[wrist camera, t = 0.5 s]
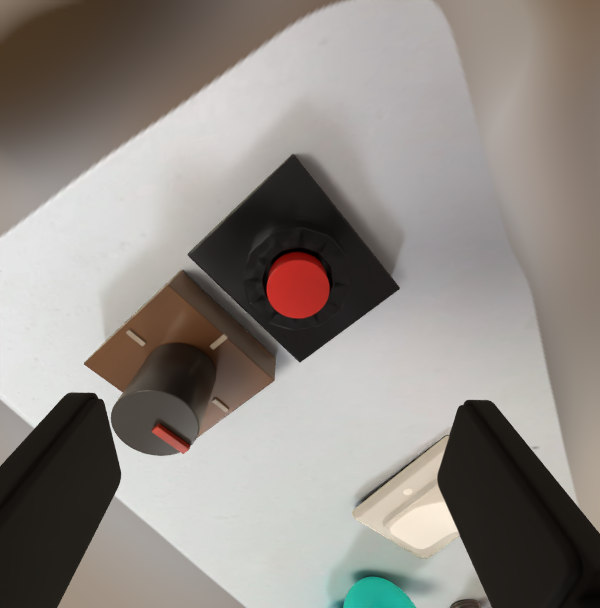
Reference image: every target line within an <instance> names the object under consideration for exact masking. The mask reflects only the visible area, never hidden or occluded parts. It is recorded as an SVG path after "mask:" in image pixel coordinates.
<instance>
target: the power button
mask: <svg viewBox="0 0 600 608" xmlns="http://www.w3.org/2000/svg"><path fill="white" fill-rule="evenodd" d="M329 291H330V287H329V281H328V278H327V274H326V271H325V269H324V267H323V265H322V263H321V262H320V261H319V260H318V259H317V258H316V257H314V256H312V255H311V254H308V253H305V252H291V253H287V254H285V255H283V256H281V257H280V258H278V259H277V260H276V261H275V262H274V264H273V265H272V267H271V269H270V271H269V275H268V281H267V297H268V300H269V302H270V304H271V305H272V306H273V308H274V309H275V310H276V311H278V312H279V313H280V314H282V315H284V316H287V317H290V318H305V317H309V316H312V315H313V314H315V313H317V312H318V311H319V310H320V309H321V308H322V307H323V306H324V305H325V303H326V301H327V299H328V296H329Z"/></svg>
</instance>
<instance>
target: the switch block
mask: <svg viewBox="0 0 600 608" xmlns="http://www.w3.org/2000/svg"><path fill="white" fill-rule="evenodd" d="M291 252H305V253H308V254H311V255H312V256H314V257H316V258H317V259H318V260H319V261H320V262H321V263H322V265H323V267H324V269H325V271H326V274H327V278H328V281H329V287H330V291H329V296H328V299H327V301H326V303H325V305H324V306H323V307H322V308H321V309H320V310H319V311H318V312H317V313H315V314H313V315H312V316H309V317H305V318H290V317H287V316H284V315H282V314H280V313H279V312H278V311H276V310H275V309H274V308H273V306H272V305H271V304H270V302H269V300H268V297H267V281H268V275H269V271H270V269H271V267H272V265H273V264H274V262H275V261H276V260H277V259H278V258H280V257H281V256H283V255H285V254H287V253H291ZM188 256H189V257H190V258H191V259H192V260H193V261H194V262H195V263H196V264H197V265H198V266H199V267H200V268H201V269H203V270H204V271H205V272H206V273H207V274H208V275H209V276H210V277H211V278H212V279H213V280H214V281H215V282H216V283H217V284H218V285H219V286H220V287H221V288H222V289H223V290H224V291H225V292H227V293H228V294H229V295H230V296H231V297H232V298H233V299H234V300H235V301H236V302H237V303H238V304H239V305H240V306H241V307H242V308H243V309H244V310H245V311H246V312H247V313H248V314H250V315H251V316H252V317H253V318H254V319H255V320H256V321H257V322H258V323H259V324H260V325H261V326H262V327H263V328H264V329H265V330H266V331H267V332H268V333H269V334H270V335H271V336H272V337H274V338H275V339H276V340H277V341H278V342H279V343H280V344H281V345H282V346H283V347H284V348H285V349H286V350H287V351H288V352H289V353H290V354H291V355H292V356H293V357H294V358H295V359H296V360H298V361H299V362H301V361H303V360H304V359H305V358H307V357H308V356H310V355H311V354H312V353H314V352H315V351H316V350H318V349H319V348H320V347H322V346H323V345H324V344H326V343H327V342H328V341H330V340H331V339H333V338H334V337H335V336H337V335H338V334H339V333H341V332H342V331H343V330H345V329H346V328H347V327H349V326H350V325H351V324H353V323H354V322H356V321H357V320H358V319H360V318H361V317H362V316H364V315H365V314H366V313H368V312H369V311H370V310H372V309H373V308H374V307H376V306H377V305H379V304H380V303H381V302H383V301H384V300H385V299H387V298H388V297H389V296H391V295H392V294H393V293H395V292H396V291H397V290H399V289H400V287H399V286H398V285H397V283H396V282H395V281H394V280H393V278H392V277H391V276H390V275H389V273H388V272H387V271H386V270H385V268H384V267H383V266H382V265H381V263H380V262H379V261H378V260H377V258H376V257H375V256H374V254H373V253H372V252H371V251H370V249H369V248H368V247H367V246H366V244H365V243H364V242H363V241H362V239H361V238H360V237H359V236H358V234H357V233H356V232H355V231H354V229H353V228H352V227H351V226H350V224H349V223H348V222H347V220H346V219H345V218H344V217H343V215H342V214H341V213H340V212H339V210H338V209H337V208H336V207H335V205H334V204H333V203H332V202H331V200H330V199H329V198H328V197H327V195H326V194H325V193H324V192H323V190H322V189H321V188H320V186H319V185H318V184H317V183H316V181H315V180H314V179H313V178H312V176H311V175H310V174H309V173H308V171H307V170H306V169H305V168H304V166H303V165H302V164H301V163H300V161H299V160H298V159H297V157H296V156H295V155H294V154H292V155H291V156H290V157H289V158H288V159H287V160H286V161H284V162H283V163H282V164H281V165H280V166H279V167H278V168H277V169H276V170H275V171H274V172H273V173H272V174H271V175H270V176H269V177H268V178H267V179H266V180H265V181H263V182H262V183H261V184H260V185H259V186H258V187H257V188H256V189H255V190H254V191H253V192H252V193H251V194H250V195H249V196H248V197H247V198H246V199H245V200H243V201H242V202H241V203H240V204H239V205H238V206H237V207H236V208H235V209H234V210H233V211H232V212H231V213H230V214H229V215H228V216H227V217H226V218H225V219H224V220H222V221H221V222H220V223H219V224H218V225H217V226H216V227H215V228H214V229H213V230H212V231H211V232H210V233H209V234H208V235H207V236H206V237H205V238H204V239H202V240H201V241H200V242H199V243H198V244H197V245H196V246H195V247H194V248H193V249H192V250H191V251H190V252H189V253H188Z"/></svg>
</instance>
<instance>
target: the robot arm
mask: <svg viewBox="0 0 600 608" xmlns="http://www.w3.org/2000/svg"><path fill="white" fill-rule="evenodd" d="M120 479H121V470H120V466H119V462H118V458H117V453H116V449H115V445H114V441H113V437H112V433H111V429H110V425H109V420H108V416H107V412H106V408H105V404H104V401H103V400H102V399H98V397H97V395H96V394H95V393H68V394H66V395H65V396H64V397H63V398H62V399H61V400H60V401H59V403H58V404H57V405H56V406H55V407H54V408H53V409H52V410H51V411H50V412H49V414H48V415H47V416H46V417H45V418H44V419H43V420H42V421H41V422H40V423H39V424H38V426H37V427H36V428H35V429H34V430H33V431H32V432H31V433H30V434H29V436H28V437H27V438H26V439H25V440H24V441H23V442H22V443H21V444H20V445H19V446H18V448H17V449H16V450H15V451H14V452H13V453H12V454H11V455H10V456H9V457H8V458H7V459H6V461H5V462H4V463H3V464H2V465H1V466H0V608H57V607H58V605H59V603H60V601H61V599H62V597H63V595H64V593H65V591H66V589H67V587H68V585H69V583H70V581H71V579H72V577H73V575H74V573H75V571H76V569H77V567H78V565H79V563H80V562H81V559H82V558H83V556H84V554H85V551H86V550H87V548H88V546H89V544H90V542H91V540H92V538H93V536H94V534H95V532H96V530H97V528H98V526H99V524H100V522H101V520H102V518H103V516H104V514H105V512H106V510H107V508H108V506H109V504H110V502H111V500H112V498H113V496H114V494H115V492H116V490H117V488H118V486H119V483H120ZM437 482H438V487H439V489H440V492H441V494H442V496H443V498H444V501H445V503H446V505H447V507H448V510H449V512H450V514H451V516H452V519H453V521H454V523H455V525H456V528H457V530H458V532H459V534H460V537H461V539H462V541H463V543H464V546H465V548H466V550H467V552H468V555H469V557H470V559H471V561H472V564H473V566H474V568H475V570H476V573H477V575H478V577H479V579H480V581H481V584H482V586H483V588H484V590H485V593H486V595H487V597H488V599H489V602H490V604H491V606H492V608H600V533H599V532H598V531H597V530H596V529H595V527H594V526H593V525H592V524H591V522H590V521H589V520H588V519H587V518H586V516H585V515H584V514H583V513H582V511H581V510H580V509H579V508H578V506H577V505H576V504H575V503H574V501H573V500H572V499H571V498H570V497H569V495H568V494H567V493H566V492H565V490H564V489H563V488H562V487H561V485H560V484H559V483H558V482H557V481H556V479H555V478H554V477H553V476H552V474H551V473H550V472H549V471H548V470H547V468H546V467H545V466H544V465H543V463H542V462H541V461H540V460H539V458H538V457H537V456H536V455H535V454H534V452H533V451H532V450H531V449H530V447H529V446H528V445H527V444H526V442H525V441H524V440H523V439H522V438H521V436H520V435H519V434H518V433H517V431H516V430H515V429H514V428H513V426H512V425H511V424H510V423H509V422H508V420H507V419H506V418H505V417H504V415H503V414H502V413H501V412H500V410H499V409H498V408H497V407H496V406H495V404H494V403H493V402H491V401H489V400H467V401H466V402H465V403H464V405H461V406H459V408H458V410H457V413H456V416H455V419H454V423H453V426H452V429H451V432H450V435H449V439H448V442H447V445H446V448H445V452H444V455H443V458H442V461H441V464H440V468H439V471H438V475H437Z"/></svg>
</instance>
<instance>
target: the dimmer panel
mask: <svg viewBox="0 0 600 608" xmlns="http://www.w3.org/2000/svg"><path fill="white" fill-rule="evenodd" d="M172 343H180V344H186V345H190V346H193V347H195V348H197V349H199V350H200V351H202V352H203V353H204V354H206V355H207V356H208V358H209V359H210V360H211V362H212V363H213V365H214V368H215V371H216V381H215V384H214V387H213V391H212V394H211V397H210V400H209V403H208V406H207V409H206V412H205V415H204V418H203V422H202V425H201V428H200V431H199V434H198V436H197V438H198V437H199V436H200V435H202V434H203V433H204V432H206V431H207V430H208V429H210V428H211V427H212V426H214V425H215V424H216V423H218V422H219V421H220V420H222V419H223V418H225V417H226V416H227V415H229V414H230V413H231V412H233V411H234V410H235V409H237V408H238V407H239V406H241V405H242V404H243V403H245V402H246V401H247V400H249V399H250V398H252V397H253V396H254V395H256V394H257V393H258V392H260V391H261V390H262V389H264V388H265V387H266V386H268V385H269V384H270V383H272V382H273V381H274V380H275V365H276V357H274V356H273V355H272V354H271V353H270V352H269V351H268V350H267V349H266V348H265V347H264V346H263V345H262V344H260V343H259V342H258V341H257V340H256V339H255V338H254V337H253V336H252V335H251V334H250V333H249V332H248V331H247V330H245V329H244V328H243V327H242V326H241V325H240V324H239V323H238V322H237V321H236V320H235V319H234V318H233V317H232V316H230V315H229V314H228V313H227V312H226V311H225V310H224V309H223V308H222V307H221V306H220V305H219V304H218V303H216V302H215V301H214V300H213V299H212V298H211V297H210V296H209V295H208V294H207V293H206V292H205V291H204V290H203V289H201V288H200V287H199V286H198V285H197V284H196V283H195V282H194V281H193V280H192V279H191V278H190V277H189V276H188V275H186V274H185V273H184V272H183V271H182V270H181V271H180V272H178V273H177V274H176V275H175V276H174V277H173V278H172V279H171V280H170V281H169V282H168V283H167V284H166V285H165V286H164V287H163V288H161V289H160V290H159V291H158V292H157V293H156V294H155V295H154V296H153V297H152V298H151V299H150V300H149V301H148V302H147V303H146V304H144V305H143V306H142V307H141V308H140V309H139V310H138V311H137V312H136V313H135V314H134V315H133V316H132V317H131V318H130V319H128V320H127V321H126V322H125V323H124V324H123V325H122V326H121V327H120V328H119V329H118V330H117V331H116V332H115V333H114V334H113V335H111V336H110V337H109V338H108V339H107V340H106V341H105V342H104V343H103V344H102V345H101V346H100V347H99V348H98V349H97V350H96V351H95V352H94V353H93V354H92V355H91V356H90V357H89V358H88V360H87V361H86V362H85V363H84V365H86V366H87V367H88V368H90V369H91V370H92V371H94V372H95V373H97V374H98V375H99V376H101V377H102V378H104V379H105V380H106V381H108V382H109V383H111V384H112V385H113V386H115V387H116V388H117V389H119V390H120V391H122V392H124V391H125V389H126V388H127V386H128V385H129V383H130V382H131V380H132V379H133V378H134V376H135V375H136V373H137V372H138V370H139V369H140V367H141V366H142V364H143V363H144V362H145V360H146V359H147V357H148V356H149V354H150V353H151V352H152V351H154V350H155V349H156V348H158V347H160V346H163V345H166V344H172Z"/></svg>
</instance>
